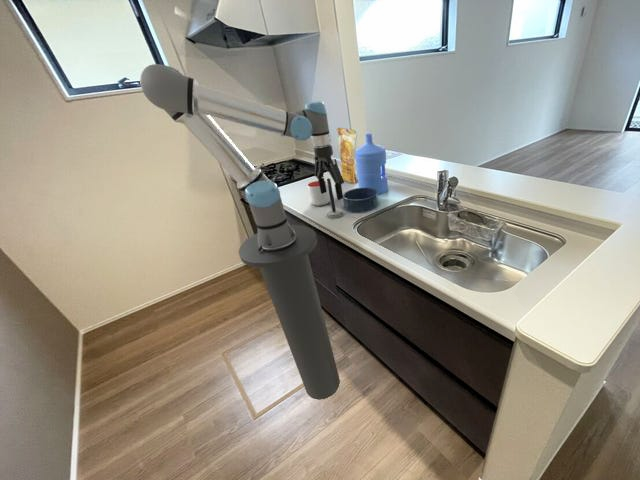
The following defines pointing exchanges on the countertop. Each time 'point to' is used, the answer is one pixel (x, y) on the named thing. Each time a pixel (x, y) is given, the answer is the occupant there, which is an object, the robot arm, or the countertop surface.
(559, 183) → the countertop surface
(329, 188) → the rod stand
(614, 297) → the countertop surface
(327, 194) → the cup
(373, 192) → the bowl
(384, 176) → the water jug
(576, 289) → the countertop surface
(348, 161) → the pancake mix bag
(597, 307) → the countertop surface
